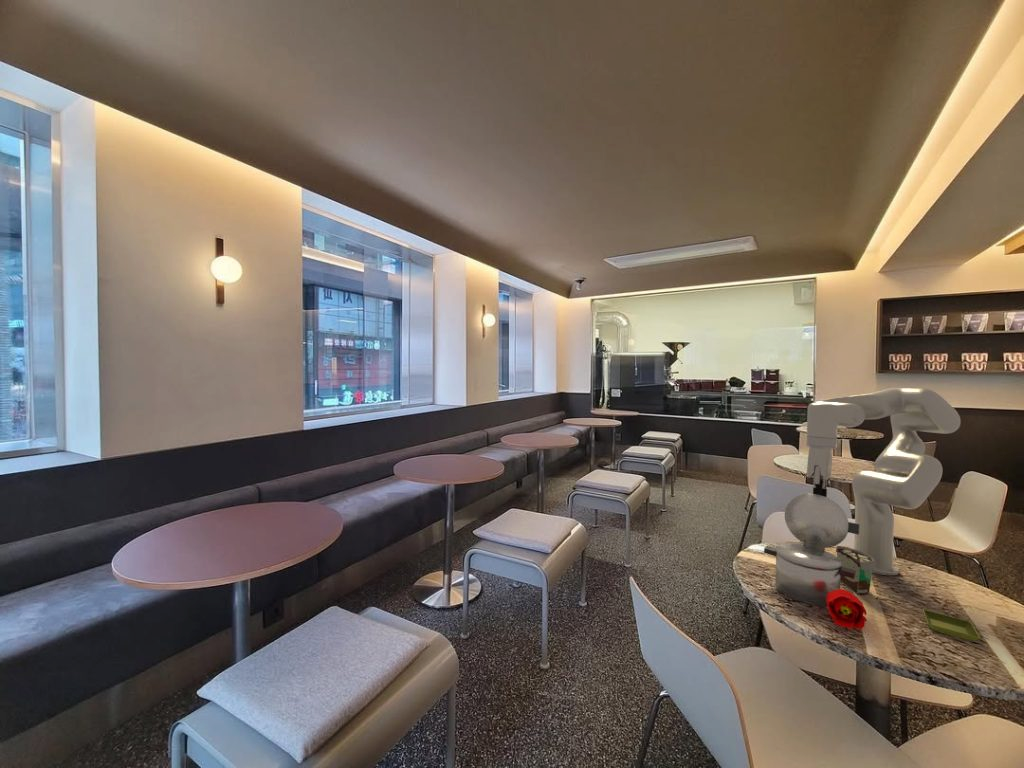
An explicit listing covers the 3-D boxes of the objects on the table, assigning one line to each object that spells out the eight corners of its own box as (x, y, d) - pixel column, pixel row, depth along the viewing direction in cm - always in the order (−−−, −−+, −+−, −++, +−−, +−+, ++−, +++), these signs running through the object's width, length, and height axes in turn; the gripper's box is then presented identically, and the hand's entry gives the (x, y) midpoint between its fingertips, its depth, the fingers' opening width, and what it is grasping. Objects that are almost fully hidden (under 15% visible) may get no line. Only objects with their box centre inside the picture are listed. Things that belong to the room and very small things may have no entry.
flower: (868, 600, 102) (875, 613, 96) (851, 623, 104) (856, 638, 97) (833, 579, 106) (837, 590, 100) (817, 601, 108) (820, 614, 101)
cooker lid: (782, 541, 127) (785, 540, 129) (856, 561, 114) (858, 559, 116) (786, 489, 128) (788, 488, 130) (859, 502, 115) (861, 501, 117)
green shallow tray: (921, 616, 105) (921, 608, 105) (971, 629, 100) (971, 621, 100) (927, 631, 99) (927, 623, 99) (980, 647, 93) (981, 638, 93)
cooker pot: (772, 570, 129) (773, 536, 129) (857, 597, 113) (858, 558, 113) (756, 586, 118) (757, 549, 118) (849, 618, 103) (850, 576, 103)
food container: (886, 600, 112) (887, 565, 112) (860, 597, 113) (861, 562, 113) (857, 579, 124) (858, 547, 124) (835, 577, 125) (835, 545, 125)
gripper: (812, 439, 134) (810, 493, 134) (801, 443, 123) (799, 502, 124) (840, 441, 128) (839, 499, 128) (832, 446, 118) (830, 508, 118)
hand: (819, 500), depth 126 cm, fingers closed
